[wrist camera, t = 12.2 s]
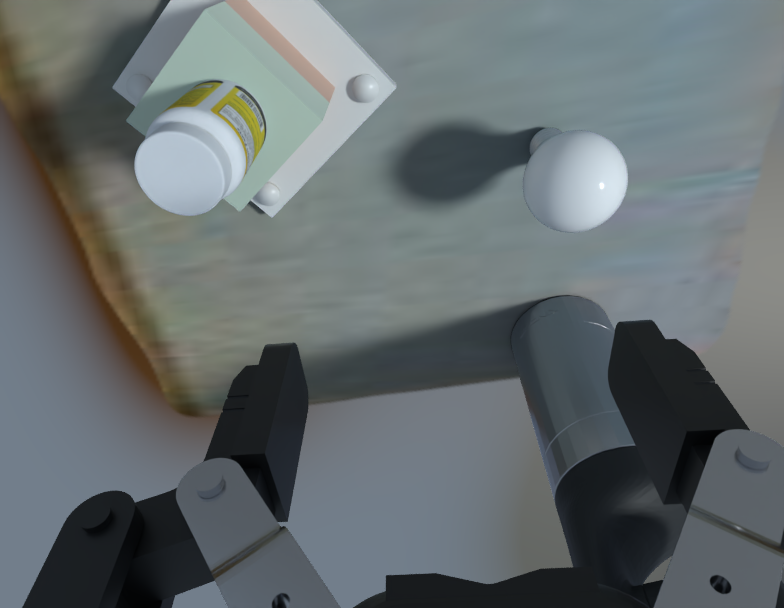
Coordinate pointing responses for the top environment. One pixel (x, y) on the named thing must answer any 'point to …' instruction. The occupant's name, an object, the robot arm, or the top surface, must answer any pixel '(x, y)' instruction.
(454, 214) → the top surface
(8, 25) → the top surface
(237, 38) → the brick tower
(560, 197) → the lightbulb
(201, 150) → the supplement bottle
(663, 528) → the robot arm
